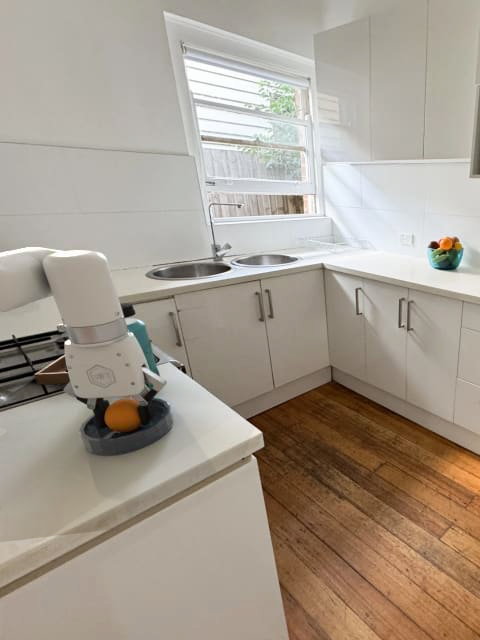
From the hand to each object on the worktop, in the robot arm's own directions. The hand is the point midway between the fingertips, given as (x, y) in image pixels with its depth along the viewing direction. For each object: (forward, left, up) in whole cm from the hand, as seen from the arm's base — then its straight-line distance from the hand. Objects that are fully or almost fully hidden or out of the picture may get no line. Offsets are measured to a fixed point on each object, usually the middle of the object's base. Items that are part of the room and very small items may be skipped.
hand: (128, 421), depth 68 cm
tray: (-21, +26, -2) cm, 33 cm away
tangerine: (0, 0, +1) cm, 1 cm away
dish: (0, 0, -2) cm, 2 cm away
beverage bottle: (-3, +13, -2) cm, 14 cm away
